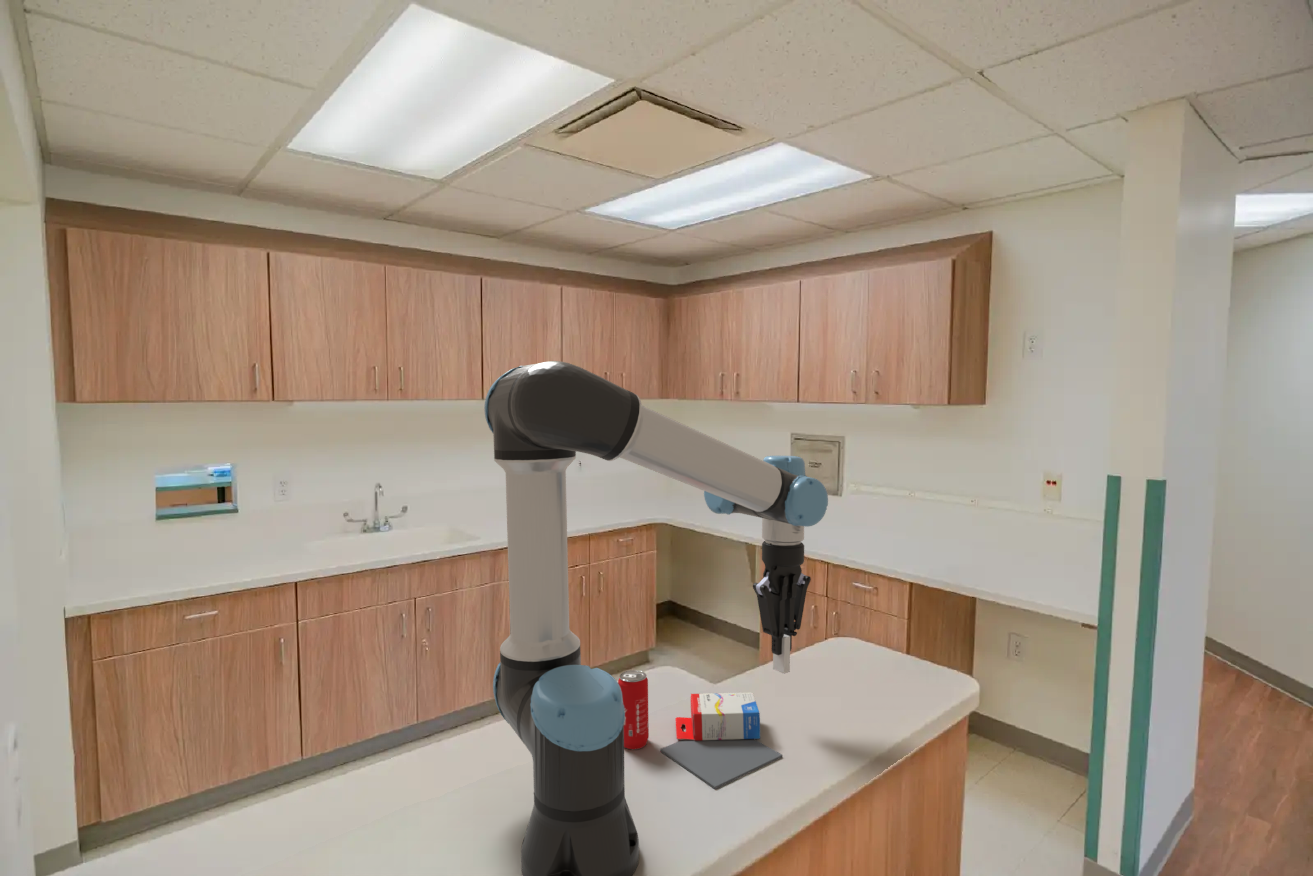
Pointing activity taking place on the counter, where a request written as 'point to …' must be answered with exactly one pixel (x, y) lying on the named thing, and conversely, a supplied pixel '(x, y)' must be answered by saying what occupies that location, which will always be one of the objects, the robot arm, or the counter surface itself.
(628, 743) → the beverage can
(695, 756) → the mat
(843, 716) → the counter surface
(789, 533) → the robot arm
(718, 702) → the ink box
